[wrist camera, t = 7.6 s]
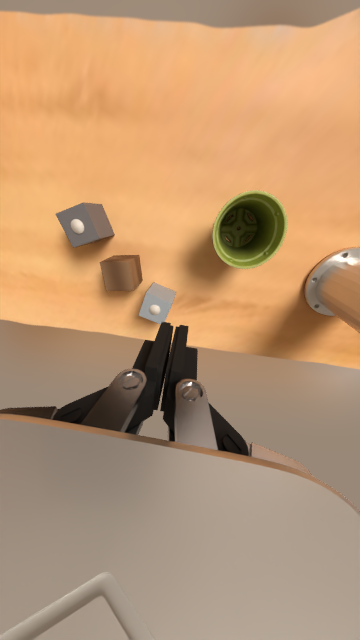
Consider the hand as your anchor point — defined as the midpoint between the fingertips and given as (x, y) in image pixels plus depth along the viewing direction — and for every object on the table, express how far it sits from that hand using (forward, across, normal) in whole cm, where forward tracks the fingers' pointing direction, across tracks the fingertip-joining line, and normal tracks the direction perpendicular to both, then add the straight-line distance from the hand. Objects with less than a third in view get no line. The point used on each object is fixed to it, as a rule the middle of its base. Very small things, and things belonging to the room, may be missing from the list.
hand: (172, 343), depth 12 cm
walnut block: (+27, +12, +4) cm, 30 cm away
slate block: (+27, +5, +9) cm, 29 cm away
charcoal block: (+27, +18, -3) cm, 33 cm away
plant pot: (+27, -7, -6) cm, 29 cm away
